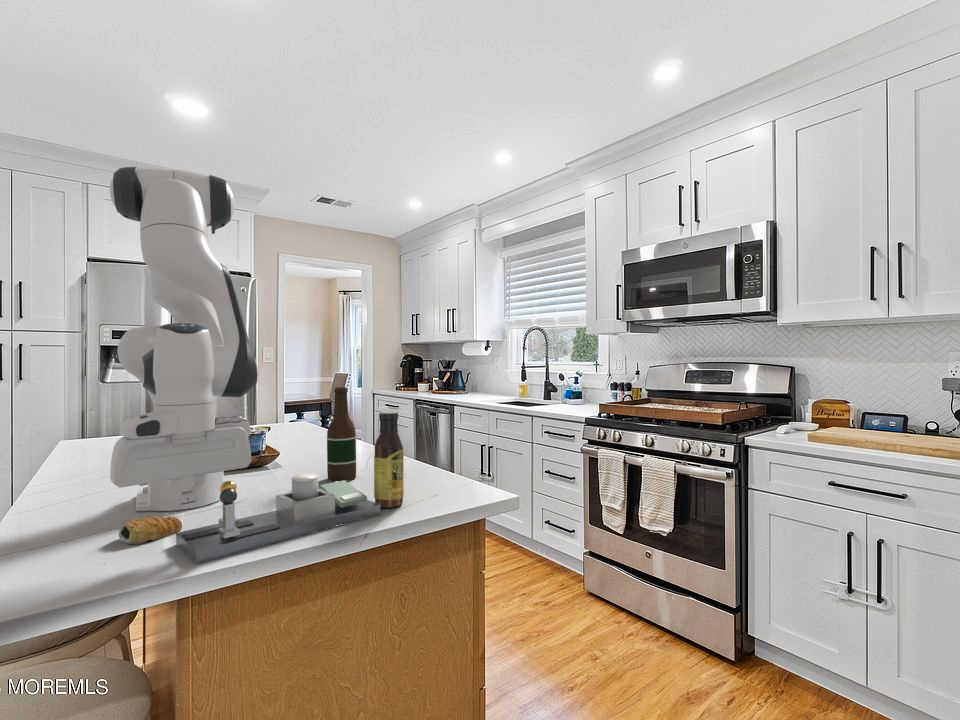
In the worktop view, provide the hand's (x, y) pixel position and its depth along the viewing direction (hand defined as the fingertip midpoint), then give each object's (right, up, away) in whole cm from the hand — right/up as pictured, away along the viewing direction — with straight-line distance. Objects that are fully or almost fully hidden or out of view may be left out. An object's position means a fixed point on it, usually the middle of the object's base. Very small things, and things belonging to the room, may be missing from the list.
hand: (186, 503), depth 84 cm
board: (+13, -8, +10) cm, 18 cm away
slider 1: (+5, -5, +5) cm, 8 cm away
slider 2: (+7, -5, -1) cm, 9 cm away
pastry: (-11, -8, +7) cm, 15 cm away
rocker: (+21, -3, +18) cm, 28 cm away
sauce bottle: (+29, -7, +24) cm, 39 cm away
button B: (+15, -3, +13) cm, 20 cm away
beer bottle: (+13, -8, +48) cm, 50 cm away
